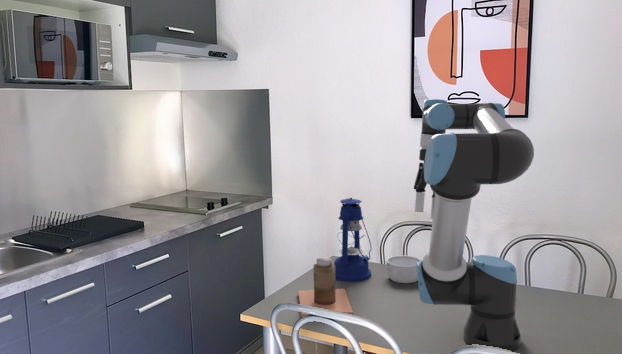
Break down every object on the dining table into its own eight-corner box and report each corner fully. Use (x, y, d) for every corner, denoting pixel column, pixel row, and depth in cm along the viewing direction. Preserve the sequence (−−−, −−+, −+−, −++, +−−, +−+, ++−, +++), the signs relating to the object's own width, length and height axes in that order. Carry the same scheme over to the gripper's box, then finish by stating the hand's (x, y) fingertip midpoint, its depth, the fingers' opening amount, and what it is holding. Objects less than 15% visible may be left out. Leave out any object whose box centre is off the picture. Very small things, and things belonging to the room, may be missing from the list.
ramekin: (424, 284, 192) (424, 266, 190) (387, 284, 192) (387, 266, 191) (419, 272, 205) (419, 255, 204) (385, 272, 205) (385, 255, 204)
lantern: (340, 266, 214) (339, 192, 209) (376, 270, 208) (376, 195, 203) (324, 280, 198) (323, 201, 194) (363, 284, 192) (363, 203, 188)
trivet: (352, 316, 165) (352, 311, 165) (301, 318, 164) (301, 314, 164) (344, 292, 185) (344, 288, 185) (298, 294, 184) (298, 290, 184)
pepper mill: (336, 304, 171) (336, 262, 169) (315, 305, 171) (314, 263, 168) (334, 296, 178) (333, 256, 176) (313, 297, 178) (312, 256, 175)
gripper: (460, 151, 156) (454, 222, 158) (428, 148, 181) (423, 209, 183) (436, 149, 155) (430, 221, 157) (407, 146, 180) (402, 208, 181)
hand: (426, 215), depth 170 cm, fingers open, 13 cm apart
